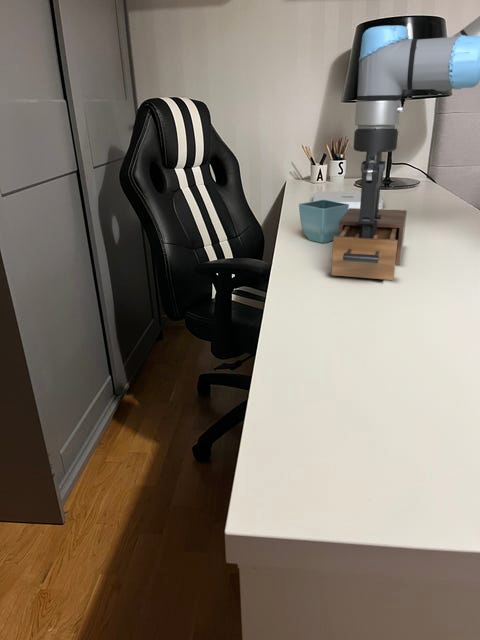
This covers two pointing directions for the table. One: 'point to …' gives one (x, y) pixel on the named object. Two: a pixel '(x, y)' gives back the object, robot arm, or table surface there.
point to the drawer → (365, 254)
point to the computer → (343, 198)
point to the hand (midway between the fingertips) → (365, 255)
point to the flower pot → (321, 219)
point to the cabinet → (380, 224)
